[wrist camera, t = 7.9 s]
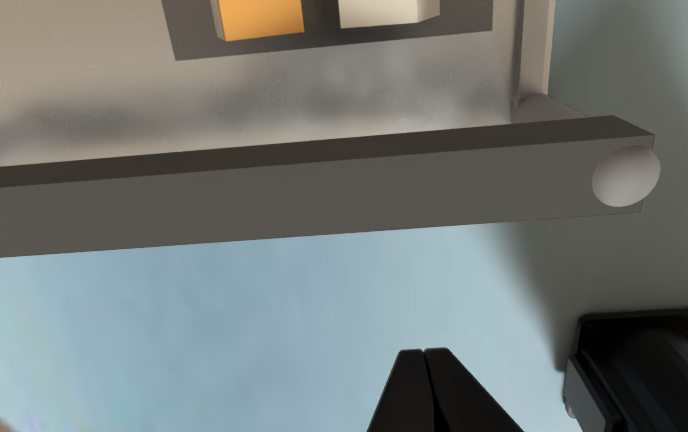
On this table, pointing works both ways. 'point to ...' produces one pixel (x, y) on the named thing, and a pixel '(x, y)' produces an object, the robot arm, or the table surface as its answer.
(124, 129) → the panel
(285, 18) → the paddle
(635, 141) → the gray bar rack
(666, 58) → the table surface
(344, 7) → the paddle on
